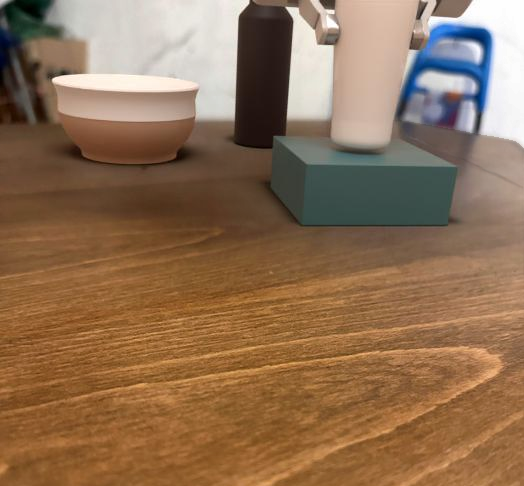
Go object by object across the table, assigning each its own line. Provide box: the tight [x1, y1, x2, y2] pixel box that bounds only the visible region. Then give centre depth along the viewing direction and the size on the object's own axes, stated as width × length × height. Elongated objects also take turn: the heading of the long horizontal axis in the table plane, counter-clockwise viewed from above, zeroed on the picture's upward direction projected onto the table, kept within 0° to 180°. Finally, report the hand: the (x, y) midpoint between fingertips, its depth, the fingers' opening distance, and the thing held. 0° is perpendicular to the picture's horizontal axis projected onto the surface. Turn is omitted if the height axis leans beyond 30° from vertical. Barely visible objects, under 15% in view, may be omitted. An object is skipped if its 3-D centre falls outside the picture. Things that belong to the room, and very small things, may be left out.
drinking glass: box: [329, 0, 419, 149], centre depth 56 cm, size 7×7×15 cm
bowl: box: [51, 73, 201, 165], centre depth 75 cm, size 16×16×8 cm
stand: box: [269, 135, 459, 226], centre depth 61 cm, size 13×13×5 cm
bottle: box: [233, 0, 295, 149], centre depth 84 cm, size 7×7×20 cm
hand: (374, 42), depth 55 cm, fingers closed on drinking glass, 6 cm apart
